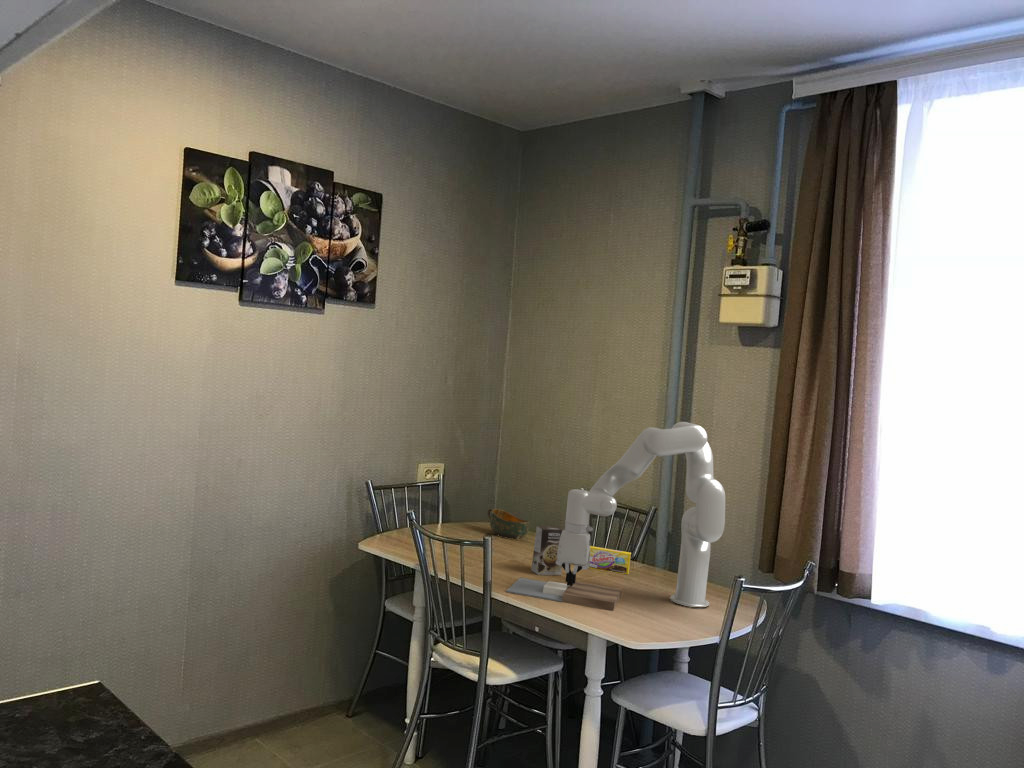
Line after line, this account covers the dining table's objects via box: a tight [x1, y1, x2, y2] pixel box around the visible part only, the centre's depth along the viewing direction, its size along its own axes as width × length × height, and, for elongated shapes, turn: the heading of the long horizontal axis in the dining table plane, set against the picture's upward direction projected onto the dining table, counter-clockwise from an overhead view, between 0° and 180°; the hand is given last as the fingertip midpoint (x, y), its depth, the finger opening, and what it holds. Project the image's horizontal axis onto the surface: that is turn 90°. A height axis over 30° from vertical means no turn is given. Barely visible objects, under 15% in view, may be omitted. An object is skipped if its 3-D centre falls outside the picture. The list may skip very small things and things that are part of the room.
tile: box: [543, 580, 570, 596], centre depth 268 cm, size 8×7×2 cm
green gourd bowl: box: [487, 507, 531, 540], centre depth 351 cm, size 13×20×10 cm, turn 24°
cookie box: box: [530, 525, 565, 576], centre depth 294 cm, size 9×6×16 cm
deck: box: [561, 580, 622, 611], centre depth 266 cm, size 18×16×2 cm
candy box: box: [588, 545, 632, 575], centre depth 307 cm, size 16×2×8 cm, turn 76°
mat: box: [505, 577, 563, 603], centre depth 270 cm, size 19×18×1 cm
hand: (570, 584), depth 267 cm, fingers closed
